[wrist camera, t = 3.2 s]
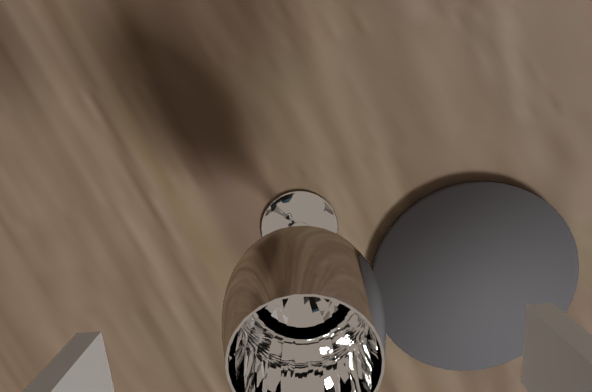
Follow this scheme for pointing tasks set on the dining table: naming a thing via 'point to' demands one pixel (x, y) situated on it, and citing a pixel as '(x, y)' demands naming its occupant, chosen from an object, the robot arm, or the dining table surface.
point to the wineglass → (303, 307)
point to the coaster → (472, 273)
